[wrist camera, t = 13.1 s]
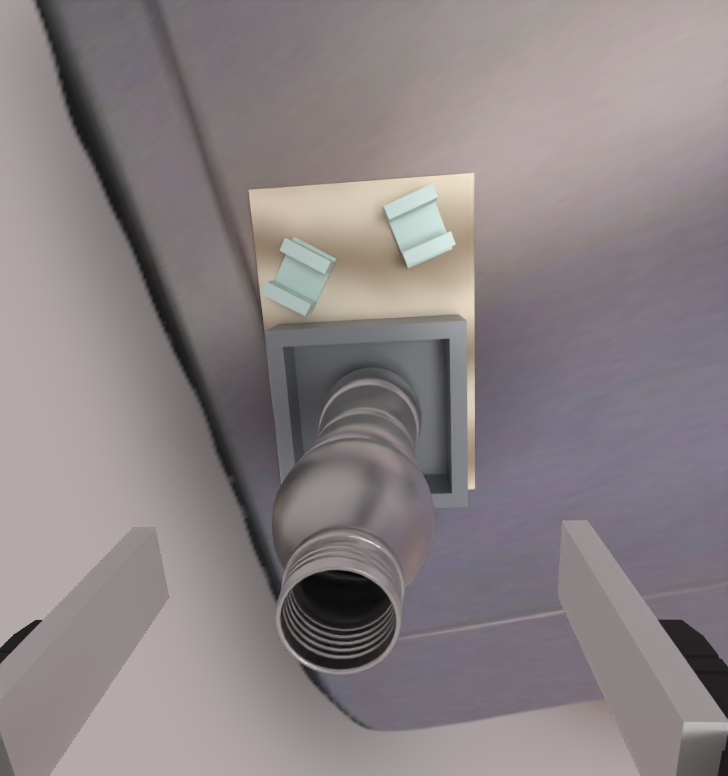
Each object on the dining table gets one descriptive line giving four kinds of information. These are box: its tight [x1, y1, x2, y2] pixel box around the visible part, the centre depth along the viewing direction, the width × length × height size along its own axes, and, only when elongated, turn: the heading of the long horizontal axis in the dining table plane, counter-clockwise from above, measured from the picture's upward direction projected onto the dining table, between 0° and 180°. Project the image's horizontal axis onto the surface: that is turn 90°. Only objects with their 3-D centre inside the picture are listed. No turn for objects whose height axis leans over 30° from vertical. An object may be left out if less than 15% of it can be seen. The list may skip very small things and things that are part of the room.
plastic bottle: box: [272, 367, 436, 675], centre depth 23 cm, size 6×7×20 cm
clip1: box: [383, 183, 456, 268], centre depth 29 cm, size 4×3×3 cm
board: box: [249, 173, 475, 489], centre depth 33 cm, size 21×14×1 cm, turn 3°
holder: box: [265, 314, 468, 508], centre depth 32 cm, size 12×12×4 cm
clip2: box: [261, 237, 337, 316], centre depth 30 cm, size 4×3×3 cm
